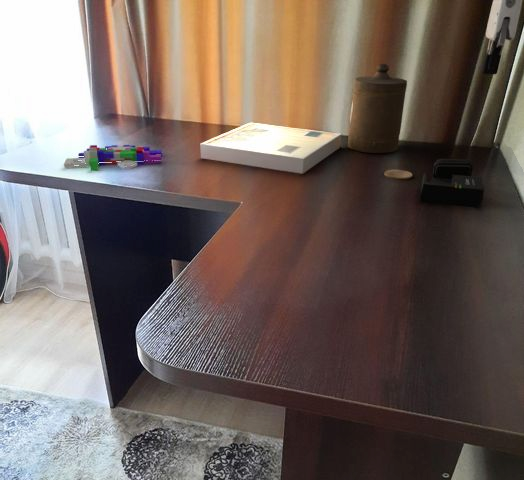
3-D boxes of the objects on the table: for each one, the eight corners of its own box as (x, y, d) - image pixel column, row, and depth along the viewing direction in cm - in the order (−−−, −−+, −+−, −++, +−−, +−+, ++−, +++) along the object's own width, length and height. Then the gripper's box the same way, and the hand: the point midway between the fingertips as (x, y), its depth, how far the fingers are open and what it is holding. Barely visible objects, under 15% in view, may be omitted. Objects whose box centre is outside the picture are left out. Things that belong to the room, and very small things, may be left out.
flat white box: (250, 122, 161) (341, 133, 150) (250, 135, 163) (340, 147, 152) (200, 143, 138) (303, 158, 128) (200, 158, 140) (302, 173, 130)
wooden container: (373, 138, 161) (383, 59, 148) (407, 149, 151) (422, 65, 138) (337, 144, 154) (345, 62, 142) (371, 156, 144) (382, 68, 131)
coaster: (411, 172, 132) (411, 170, 132) (412, 180, 127) (413, 178, 127) (384, 170, 133) (384, 168, 133) (384, 178, 128) (384, 176, 128)
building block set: (161, 147, 149) (159, 131, 146) (162, 168, 132) (160, 150, 130) (73, 150, 145) (69, 134, 142) (63, 171, 129) (59, 153, 126)
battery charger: (477, 194, 119) (481, 176, 116) (479, 208, 111) (484, 189, 109) (420, 188, 121) (423, 171, 119) (419, 201, 114) (422, 184, 112)
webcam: (470, 181, 126) (475, 158, 123) (467, 189, 122) (473, 164, 118) (432, 176, 129) (437, 153, 126) (428, 183, 125) (433, 159, 121)
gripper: (537, -20, 106) (512, 78, 117) (520, -19, 119) (498, 70, 129) (500, -20, 107) (478, 77, 118) (487, -19, 120) (468, 69, 130)
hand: (489, 73), depth 124 cm, fingers closed
